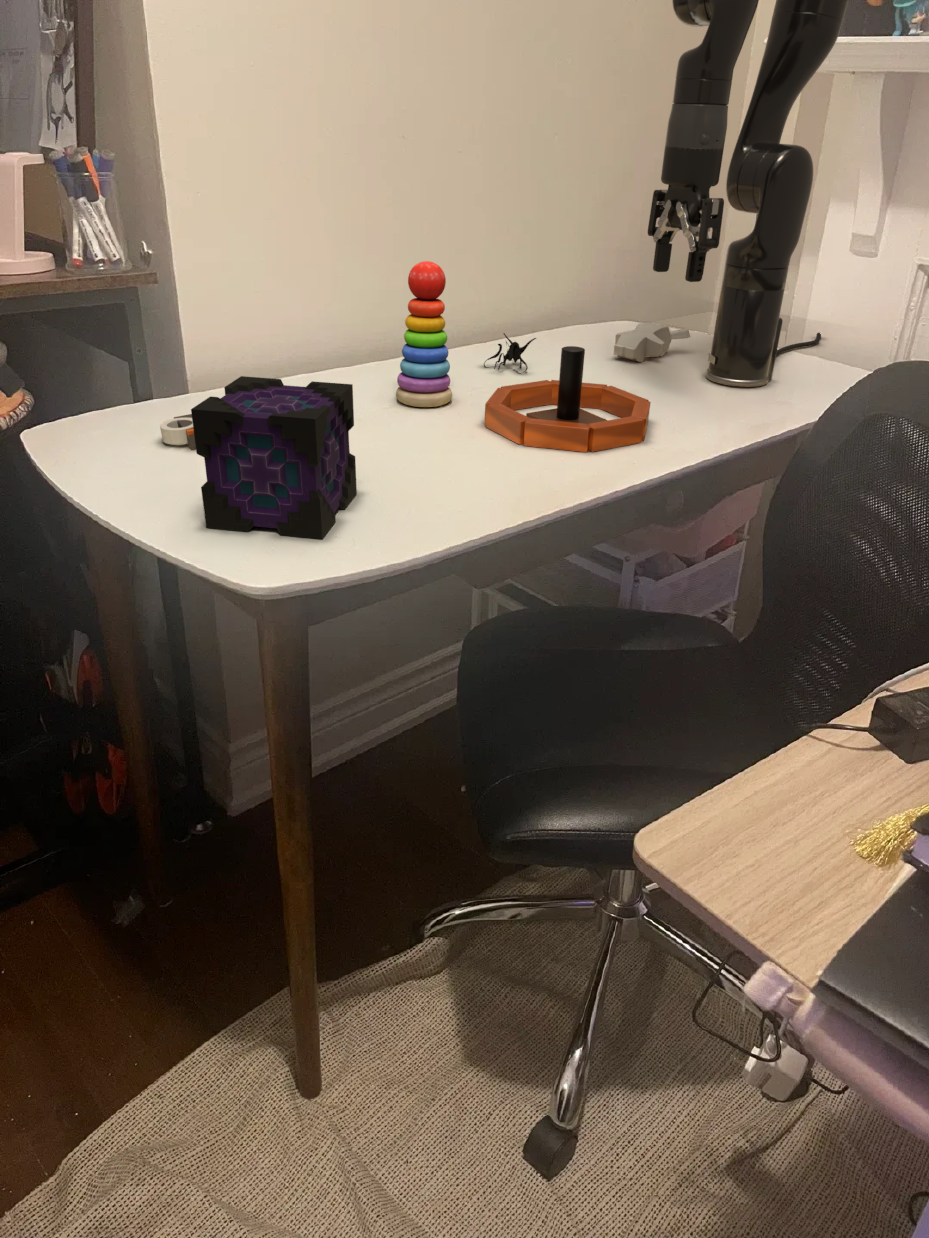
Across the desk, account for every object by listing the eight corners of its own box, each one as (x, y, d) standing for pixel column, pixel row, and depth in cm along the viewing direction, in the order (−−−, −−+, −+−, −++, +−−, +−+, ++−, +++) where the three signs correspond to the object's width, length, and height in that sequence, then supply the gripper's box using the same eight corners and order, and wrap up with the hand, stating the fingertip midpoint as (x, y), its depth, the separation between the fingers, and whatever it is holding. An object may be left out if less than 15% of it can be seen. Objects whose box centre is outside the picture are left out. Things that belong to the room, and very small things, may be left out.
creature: (518, 383, 142) (542, 362, 147) (516, 351, 139) (541, 331, 144) (476, 375, 146) (501, 355, 151) (473, 344, 142) (498, 324, 147)
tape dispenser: (153, 417, 112) (269, 397, 118) (158, 440, 113) (272, 419, 119) (167, 433, 107) (287, 411, 113) (172, 457, 108) (290, 433, 114)
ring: (581, 394, 134) (583, 374, 132) (679, 435, 118) (682, 413, 117) (460, 413, 124) (460, 392, 123) (549, 460, 109) (551, 436, 107)
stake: (572, 412, 126) (579, 339, 121) (609, 428, 120) (617, 352, 115) (525, 420, 122) (530, 345, 117) (560, 437, 116) (567, 359, 112)
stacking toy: (445, 411, 125) (447, 268, 116) (389, 406, 126) (387, 264, 117) (457, 396, 132) (460, 259, 122) (404, 391, 133) (403, 256, 124)
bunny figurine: (600, 333, 152) (651, 310, 161) (600, 362, 155) (650, 339, 164) (648, 343, 146) (698, 319, 155) (646, 373, 149) (695, 349, 158)
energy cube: (322, 539, 88) (315, 419, 82) (206, 528, 89) (190, 409, 83) (356, 494, 98) (352, 384, 92) (251, 484, 100) (241, 376, 94)
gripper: (751, 148, 112) (728, 284, 121) (689, 143, 124) (672, 268, 132) (699, 146, 110) (680, 286, 118) (641, 141, 122) (627, 269, 130)
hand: (676, 276), depth 125 cm, fingers open, 8 cm apart
